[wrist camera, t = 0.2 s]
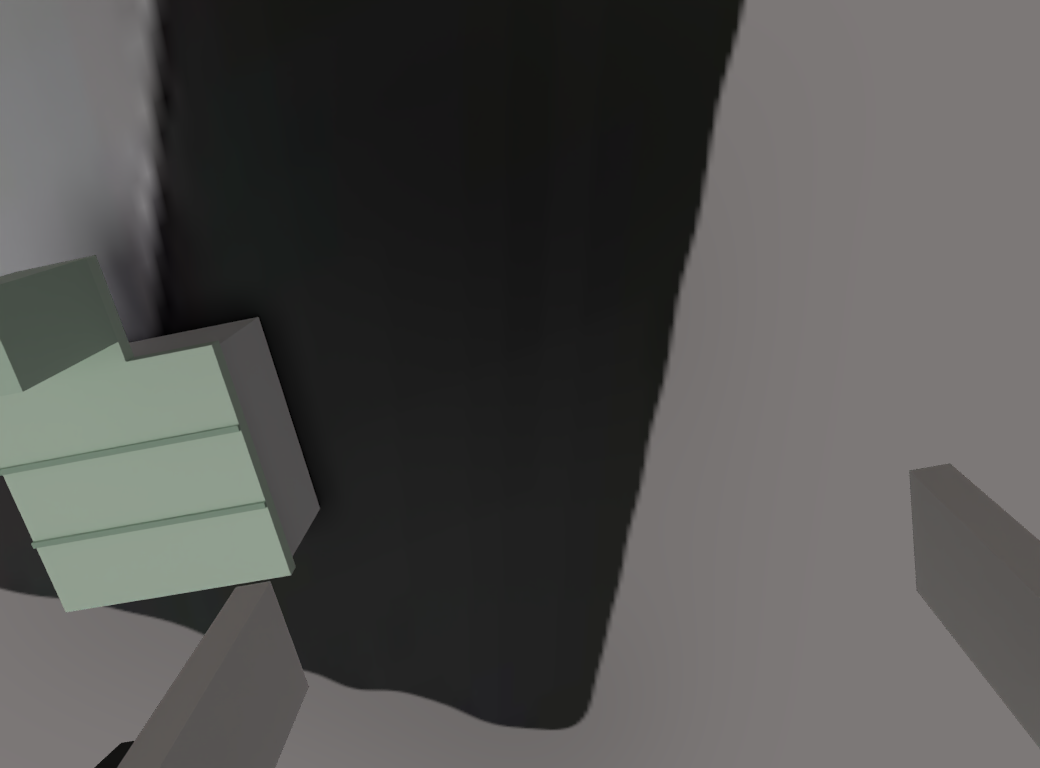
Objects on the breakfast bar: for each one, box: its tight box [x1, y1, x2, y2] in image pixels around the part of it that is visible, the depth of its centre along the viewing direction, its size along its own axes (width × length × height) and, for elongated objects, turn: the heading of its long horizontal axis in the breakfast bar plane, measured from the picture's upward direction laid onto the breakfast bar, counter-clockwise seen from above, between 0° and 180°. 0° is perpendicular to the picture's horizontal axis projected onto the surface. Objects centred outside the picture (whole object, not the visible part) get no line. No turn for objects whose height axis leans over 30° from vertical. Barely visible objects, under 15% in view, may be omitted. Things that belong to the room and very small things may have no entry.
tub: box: [129, 317, 320, 556], centre depth 42 cm, size 12×12×6 cm
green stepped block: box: [0, 255, 296, 612], centre depth 35 cm, size 18×13×8 cm
